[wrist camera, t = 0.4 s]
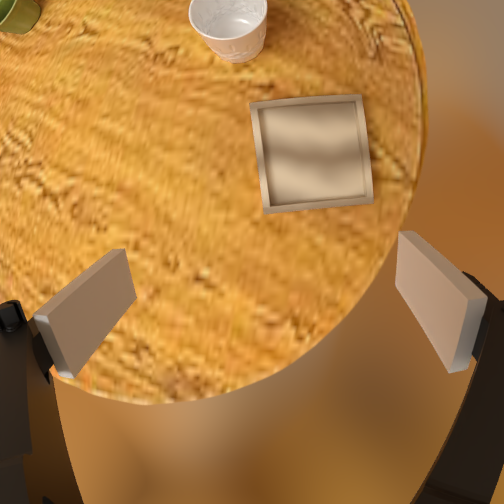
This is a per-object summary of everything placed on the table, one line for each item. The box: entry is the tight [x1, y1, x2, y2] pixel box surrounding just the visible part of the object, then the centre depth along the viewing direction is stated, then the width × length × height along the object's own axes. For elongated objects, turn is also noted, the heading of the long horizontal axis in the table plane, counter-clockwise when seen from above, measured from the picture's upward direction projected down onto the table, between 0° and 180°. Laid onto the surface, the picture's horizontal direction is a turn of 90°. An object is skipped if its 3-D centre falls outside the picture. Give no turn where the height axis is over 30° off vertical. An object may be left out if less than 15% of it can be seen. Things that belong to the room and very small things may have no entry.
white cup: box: [189, 0, 267, 63], centre depth 30 cm, size 8×8×10 cm
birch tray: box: [249, 94, 374, 214], centre depth 37 cm, size 13×13×2 cm
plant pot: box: [0, 0, 41, 34], centre depth 30 cm, size 9×9×9 cm
